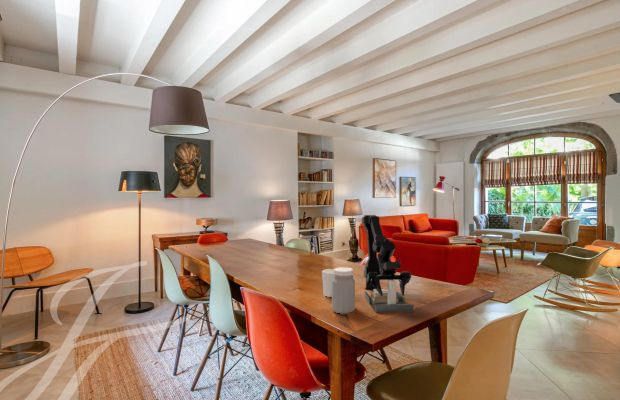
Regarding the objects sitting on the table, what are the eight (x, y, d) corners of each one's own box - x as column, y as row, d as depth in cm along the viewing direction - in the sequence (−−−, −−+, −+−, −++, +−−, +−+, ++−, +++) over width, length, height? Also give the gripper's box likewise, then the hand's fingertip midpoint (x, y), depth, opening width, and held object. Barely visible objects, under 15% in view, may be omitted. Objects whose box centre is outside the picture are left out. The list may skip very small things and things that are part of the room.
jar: (358, 313, 137) (358, 271, 137) (336, 316, 134) (336, 272, 134) (349, 306, 146) (349, 266, 146) (328, 308, 144) (328, 267, 143)
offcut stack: (370, 298, 155) (370, 289, 154) (393, 297, 155) (393, 288, 155) (374, 302, 148) (374, 293, 148) (398, 302, 148) (398, 293, 148)
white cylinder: (344, 293, 165) (344, 269, 165) (337, 299, 156) (337, 274, 156) (326, 291, 169) (326, 268, 169) (318, 296, 160) (318, 272, 160)
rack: (364, 299, 156) (364, 291, 156) (398, 298, 157) (398, 290, 157) (375, 315, 136) (375, 305, 136) (413, 314, 137) (413, 304, 137)
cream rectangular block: (387, 307, 142) (387, 279, 142) (392, 307, 142) (392, 279, 142) (390, 310, 138) (390, 282, 138) (395, 310, 138) (396, 282, 138)
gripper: (368, 254, 143) (374, 286, 132) (410, 253, 144) (419, 285, 133) (364, 267, 151) (369, 299, 140) (403, 267, 152) (412, 298, 141)
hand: (392, 295), depth 139 cm, fingers open, 9 cm apart
